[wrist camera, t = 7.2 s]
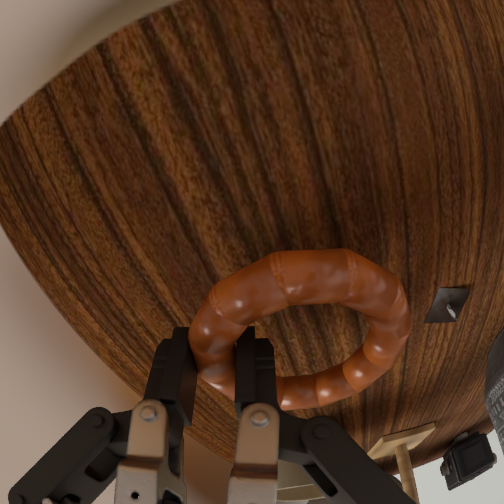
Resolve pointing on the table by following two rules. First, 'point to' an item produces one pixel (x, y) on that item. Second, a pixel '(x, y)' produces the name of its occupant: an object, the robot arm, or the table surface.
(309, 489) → the flower pot
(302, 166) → the table surface
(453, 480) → the camera
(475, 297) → the table surface
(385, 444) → the stand
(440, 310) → the small square plate
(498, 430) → the planter
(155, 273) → the table surface
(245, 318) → the ring
